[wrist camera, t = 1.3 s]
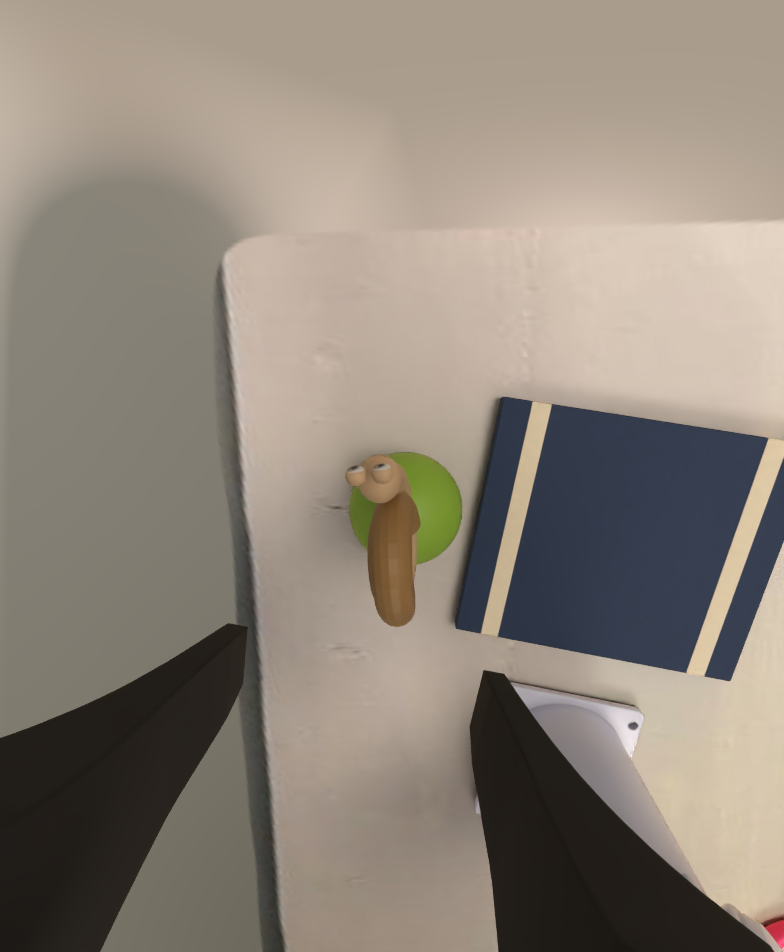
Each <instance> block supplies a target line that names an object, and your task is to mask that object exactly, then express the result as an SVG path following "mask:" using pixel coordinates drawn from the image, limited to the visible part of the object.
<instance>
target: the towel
mask: <svg viewBox="0 0 784 952" xmlns="http://www.w3.org/2000/svg"><path fill="white" fill-rule="evenodd" d="M783 541H784V440H779V439H772V438H766V437H759V436H753V435H746V434H740V433H734V432H727V431H721V430H714V429H708V428H702V427H695V426H689V425H682V424H676V423H669V422H663V421H657V420H650V419H644V418H637V417H631V416H625V415H618V414H612V413H605V412H599V411H592V410H586V409H580V408H573V407H567V406H560V405H554V404H548V403H541V402H535V401H528V400H522V399H515V398H509V397H502V398H501V401H500V406H499V411H498V415H497V420H496V425H495V430H494V435H493V439H492V444H491V449H490V454H489V459H488V464H487V468H486V473H485V478H484V483H483V488H482V492H481V497H480V502H479V507H478V512H477V517H476V521H475V526H474V531H473V536H472V541H471V546H470V550H469V555H468V560H467V565H466V570H465V574H464V579H463V584H462V589H461V594H460V599H459V603H458V608H457V613H456V618H455V626H456V629H460V630H466V631H471V632H476V633H481V634H485V635H490V636H495V637H502V638H507V639H512V640H518V641H523V642H528V643H533V644H538V645H544V646H549V647H554V648H559V649H564V650H570V651H575V652H580V653H585V654H590V655H596V656H601V657H606V658H611V659H616V660H622V661H627V662H632V663H637V664H642V665H648V666H653V667H658V668H663V669H668V670H674V671H679V672H684V673H687V674H693V675H698V676H705V677H710V678H715V679H721V680H726V681H730V680H731V678H732V676H733V673H734V670H735V668H736V665H737V662H738V660H739V657H740V654H741V652H742V649H743V647H744V644H745V641H746V639H747V636H748V633H749V631H750V628H751V626H752V623H753V620H754V618H755V615H756V612H757V610H758V607H759V604H760V602H761V599H762V597H763V594H764V591H765V589H766V586H767V583H768V581H769V578H770V575H771V573H772V570H773V568H774V565H775V562H776V560H777V557H778V554H779V552H780V549H781V547H782V544H783Z"/></svg>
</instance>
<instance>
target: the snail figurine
mask: <svg viewBox="0 0 784 952" xmlns="http://www.w3.org/2000/svg"><path fill="white" fill-rule="evenodd" d="M345 478H346V481H347V482H348V483H349V484H350V485H352V486H354V487H353V490H352V493H351V497H350V504H349V514H350V521H351V525H352V528H353V530H354V533H355V535H356V537H357V538H358V540H359V541H360V543H361V544H362V545H363V546H364V547H365V549H366V550H368V572H369V581H370V587H371V591H372V595H373V597H374V600H375V605H376V609H377V612H378V614H379V616H380V617H381V619H382V620H383V621H384V622H385V623H387V624H388V625H390V626H395V627H400V626H403V625H405V624H407V623H408V622H409V621H410V620H411V619H412V617H413V615H414V612H415V591H414V577H415V571H416V565H417V564H421V563H424V562H427V561H429V560H431V559H433V558H435V557H437V556H438V555H439V554H441V553H442V552H443V551H444V550H445V549H446V548H447V547H448V546H449V545H450V544H451V542H452V541H453V539H454V538H455V536H456V534H457V532H458V529H459V526H460V523H461V518H462V500H461V495H460V492H459V489H458V486H457V484H456V482H455V480H454V479H453V477H452V476H451V475H450V473H449V472H448V471H447V470H446V469H445V468H444V467H443V466H442V465H441V464H439V463H438V462H437V461H435V460H433V459H431V458H429V457H427V456H424V455H421V454H417V453H411V452H401V453H394V454H390V455H387V456H385V455H373V456H371V457H369V458H367V459H366V460H365V461H363V462H362V463H361V465H360V466H353V467H351V468H349V469H348V470H347V471H346V474H345Z"/></svg>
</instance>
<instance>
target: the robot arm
mask: <svg viewBox="0 0 784 952" xmlns="http://www.w3.org/2000/svg"><path fill="white" fill-rule="evenodd" d="M247 629H248V627H246V626H240V625H235V624H226V625H225V626H223V627H221V628H220V629H218V630H217V631H215V632H214V633H212V634H211V635H209V636H207V637H206V638H204V639H203V640H201V641H200V642H198V643H197V644H195V645H194V646H192V647H190V648H189V649H187V650H185V651H184V652H182V653H181V654H179V655H178V656H176V657H174V658H173V659H171V660H169V661H168V662H166V663H164V664H163V665H161V666H159V667H157V668H156V669H154V670H152V671H150V672H148V673H147V674H145V675H143V676H141V677H140V678H138V679H136V680H134V681H133V682H131V683H129V684H127V685H125V686H123V687H121V688H119V689H117V690H116V691H113V692H111V693H109V694H107V695H105V696H103V697H101V698H99V699H97V700H94V701H92V702H90V703H88V704H86V705H84V706H81V707H79V708H77V709H74V710H72V711H70V712H67V713H65V714H62V715H60V716H57V717H55V718H52V719H50V720H47V721H45V722H43V723H40V724H38V725H35V726H32V727H30V728H27V729H24V730H22V731H19V732H16V733H13V734H11V735H8V736H5V737H2V738H0V952H100V951H101V949H102V947H103V945H104V942H105V940H106V938H107V936H108V934H109V932H110V930H111V928H112V926H113V923H114V921H115V919H116V917H117V915H118V912H119V911H120V909H121V907H122V905H123V903H124V901H125V899H126V897H127V894H128V893H129V891H130V889H131V887H132V885H133V883H134V881H135V879H136V877H137V875H138V872H139V870H140V868H141V866H142V864H143V862H144V860H145V858H146V856H147V855H148V853H149V851H150V849H151V847H152V845H153V843H154V841H155V839H156V837H157V835H158V833H159V831H160V829H161V827H162V825H163V823H164V821H165V819H166V818H167V816H168V814H169V812H170V811H171V809H172V807H173V805H174V803H175V802H176V800H177V798H178V797H179V795H180V794H181V792H182V790H183V789H184V787H185V785H186V784H187V782H188V781H189V779H190V777H191V776H192V774H193V773H194V771H195V769H196V768H197V766H198V764H199V763H200V761H201V760H202V758H203V756H204V755H205V753H206V751H207V750H208V748H209V746H210V745H211V743H212V742H213V740H214V739H215V737H216V735H217V734H218V732H219V730H220V729H221V727H222V725H223V724H224V722H225V720H226V718H227V717H228V715H229V713H230V710H231V708H232V706H233V704H234V702H235V700H236V698H237V696H238V694H239V691H240V689H241V687H242V685H243V678H244V665H245V653H246V641H247ZM631 722H634V723H633V724H629V723H631ZM643 722H644V715H643V713H642V712H641V710H640V709H639V708H637V707H634V706H629V705H624V704H619V703H614V702H609V701H604V700H599V699H594V698H589V697H584V696H579V695H574V694H569V693H564V692H559V691H554V690H549V689H544V688H539V687H534V686H529V685H524V684H519V683H514V682H509V680H508V679H507V677H506V676H505V674H502V673H496V672H491V671H485V670H484V671H483V675H482V679H481V683H480V687H479V691H478V695H477V699H476V703H475V707H474V711H473V716H472V720H471V724H470V739H471V755H472V766H473V772H474V778H475V784H476V790H477V795H476V799H475V811H476V813H477V814H478V815H480V816H481V818H482V824H483V830H484V835H485V841H486V847H487V852H488V858H489V864H490V872H491V879H492V887H493V897H494V907H495V918H496V928H497V939H498V951H499V952H783V951H782V949H781V948H780V946H779V945H778V944H777V942H776V941H775V940H774V939H773V937H772V936H771V935H770V933H769V932H768V931H767V930H766V929H765V927H764V926H763V925H762V924H761V923H759V922H758V921H756V920H754V919H753V918H751V917H749V916H747V915H746V914H743V913H741V912H740V911H739V910H738V909H737V908H736V907H734V906H733V905H731V904H724V905H723V906H722V907H720V906H719V905H717V904H716V903H715V902H714V901H712V900H711V899H710V898H709V897H708V896H707V894H706V893H705V891H704V889H703V887H702V885H701V884H700V882H699V880H698V878H697V876H696V875H695V873H694V871H693V869H692V868H691V866H690V864H689V862H688V860H687V859H686V857H685V855H684V853H683V851H682V850H681V848H680V846H679V844H678V842H677V841H676V839H675V837H674V835H673V834H672V832H671V830H670V828H669V826H668V825H667V823H666V821H665V819H664V817H663V816H662V814H661V812H660V810H659V808H658V807H657V805H656V803H655V801H654V800H653V798H652V796H651V794H650V792H649V791H648V789H647V787H646V785H645V783H644V782H643V780H642V778H641V776H640V774H639V773H638V771H637V769H636V767H635V766H634V764H633V762H632V760H631V757H632V754H633V751H634V748H635V745H636V742H637V739H638V737H639V734H640V731H641V728H642V725H643Z"/></svg>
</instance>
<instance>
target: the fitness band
mask: <svg viewBox="0 0 784 952" xmlns="http://www.w3.org/2000/svg"><path fill="white" fill-rule="evenodd" d="M765 929H766V930H767V931H768V932H769V933H770V935H771V936H772V937H773V939H774V940H775V941H776V942H777V944H778V945H779V946H780V948H781V949H782V948H783V947H784V920H781V921H778V922H775V923H773V924H771V925H769V926H767V927H765Z"/></svg>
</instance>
